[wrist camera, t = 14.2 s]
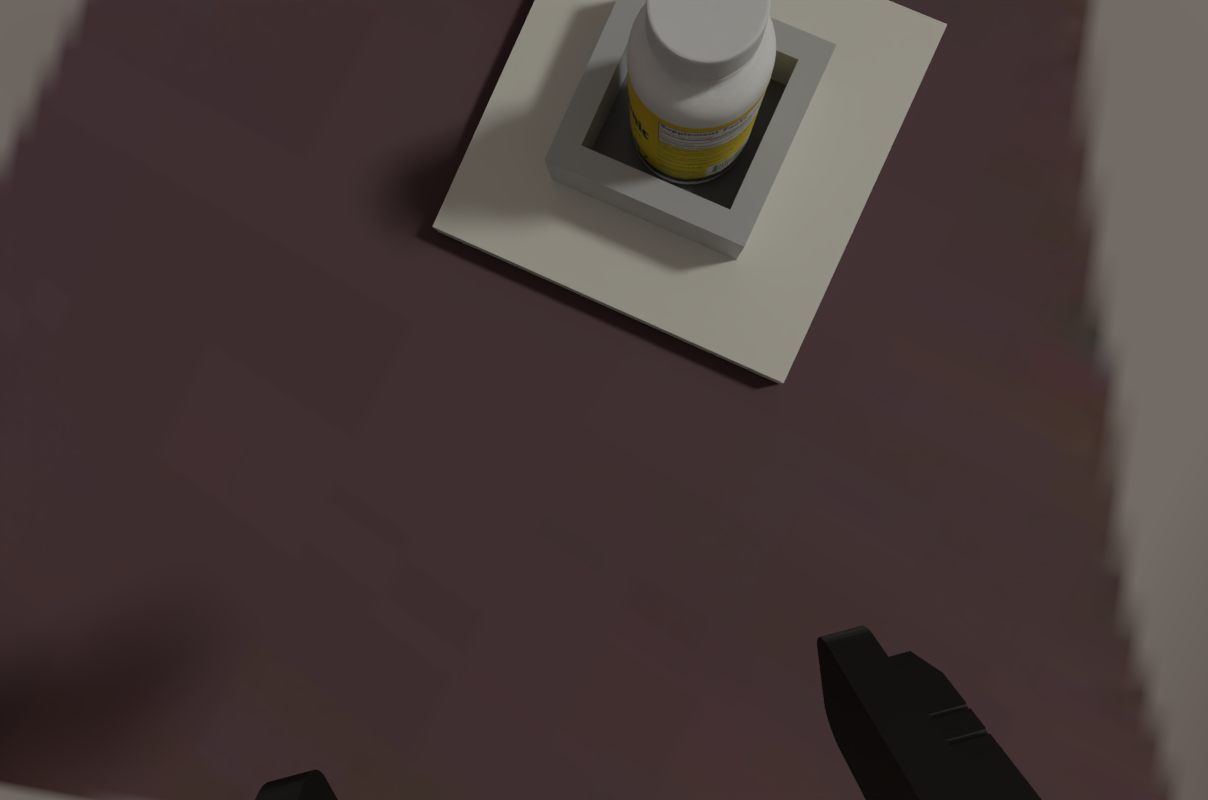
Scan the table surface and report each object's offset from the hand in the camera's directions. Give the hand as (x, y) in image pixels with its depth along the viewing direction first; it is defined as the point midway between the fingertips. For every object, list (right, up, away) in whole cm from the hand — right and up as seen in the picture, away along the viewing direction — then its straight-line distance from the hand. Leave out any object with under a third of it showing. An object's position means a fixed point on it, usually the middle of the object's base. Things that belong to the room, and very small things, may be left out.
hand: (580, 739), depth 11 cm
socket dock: (+4, +18, +22) cm, 29 cm away
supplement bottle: (+4, +18, +21) cm, 28 cm away
